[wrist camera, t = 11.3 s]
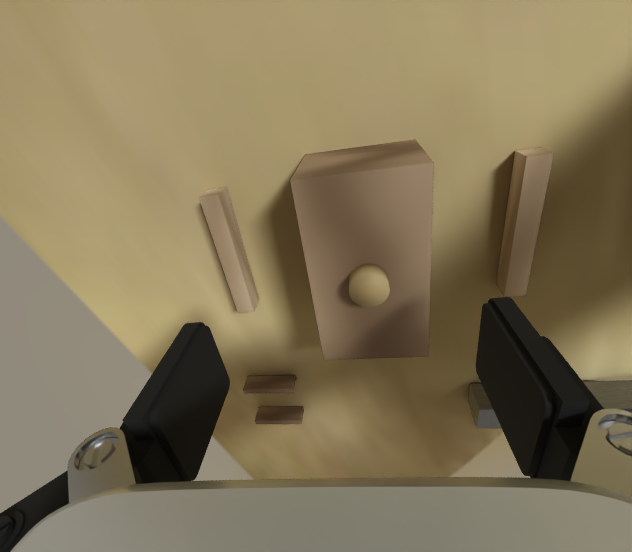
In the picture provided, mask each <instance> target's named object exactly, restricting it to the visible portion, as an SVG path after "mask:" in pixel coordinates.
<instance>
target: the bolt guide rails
mask: <svg viewBox="0 0 632 552" xmlns="http://www.w3.org/2000/svg"><path fill="white" fill-rule="evenodd" d="M553 155H554V153H552V152H550V151H547V150H545V149H543V148H540V147H539V148H531V149H523V150H516V151H515V155H514V163H513V170H512V177H511V184H510V191H509V198H508V205H507V212H506V219H505V226H504V233H503V240H502V247H501V254H500V261H499V268H498V275H497V282H496V285H497V286H498V288H499V289H500V291H501V293H502V294H503V296H504V297H511V296H525V295H526V290H527V285H528V280H529V275H530V270H531V265H532V260H533V255H534V250H535V245H536V240H537V235H538V230H539V225H540V220H541V215H542V210H543V205H544V200H545V195H546V190H547V185H548V180H549V175H550V170H551V165H552V160H553ZM199 199H200V202H201V205H202V208H203V211H204V214H205V217H206V220H207V223H208V226H209V229H210V232H211V235H212V238H213V241H214V244H215V247H216V250H217V253H218V256H219V259H220V261H221V264H222V267H223V270H224V273H225V276H226V279H227V282H228V285H229V288H230V291H231V294H232V297H233V300H234V303H235V306H236V309H237V312H238V313H241V312H254V311H255V308H256V306H257V304H258V301H259V297H258V294H257V291H256V287H255V284H254V280H253V277H252V273H251V270H250V266H249V263H248V260H247V256H246V253H245V249H244V246H243V242H242V239H241V235H240V232H239V229H238V225H237V222H236V218H235V215H234V211H233V208H232V204H231V201H230V198H229V194H228V191H227V187H224V188H216V189H208V190H207V191H206V192H204V193H203V194H202V195H201V196H199Z"/></svg>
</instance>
